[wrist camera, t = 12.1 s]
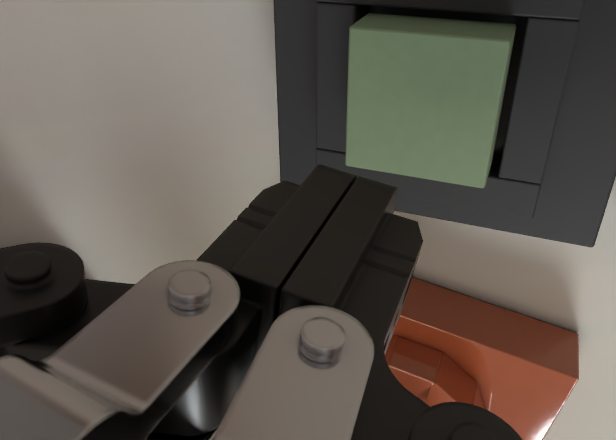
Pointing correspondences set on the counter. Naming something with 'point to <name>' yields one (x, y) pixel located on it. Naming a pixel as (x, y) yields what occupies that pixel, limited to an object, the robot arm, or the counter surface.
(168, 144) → the counter surface
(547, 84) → the dark square push button
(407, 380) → the orange button block
